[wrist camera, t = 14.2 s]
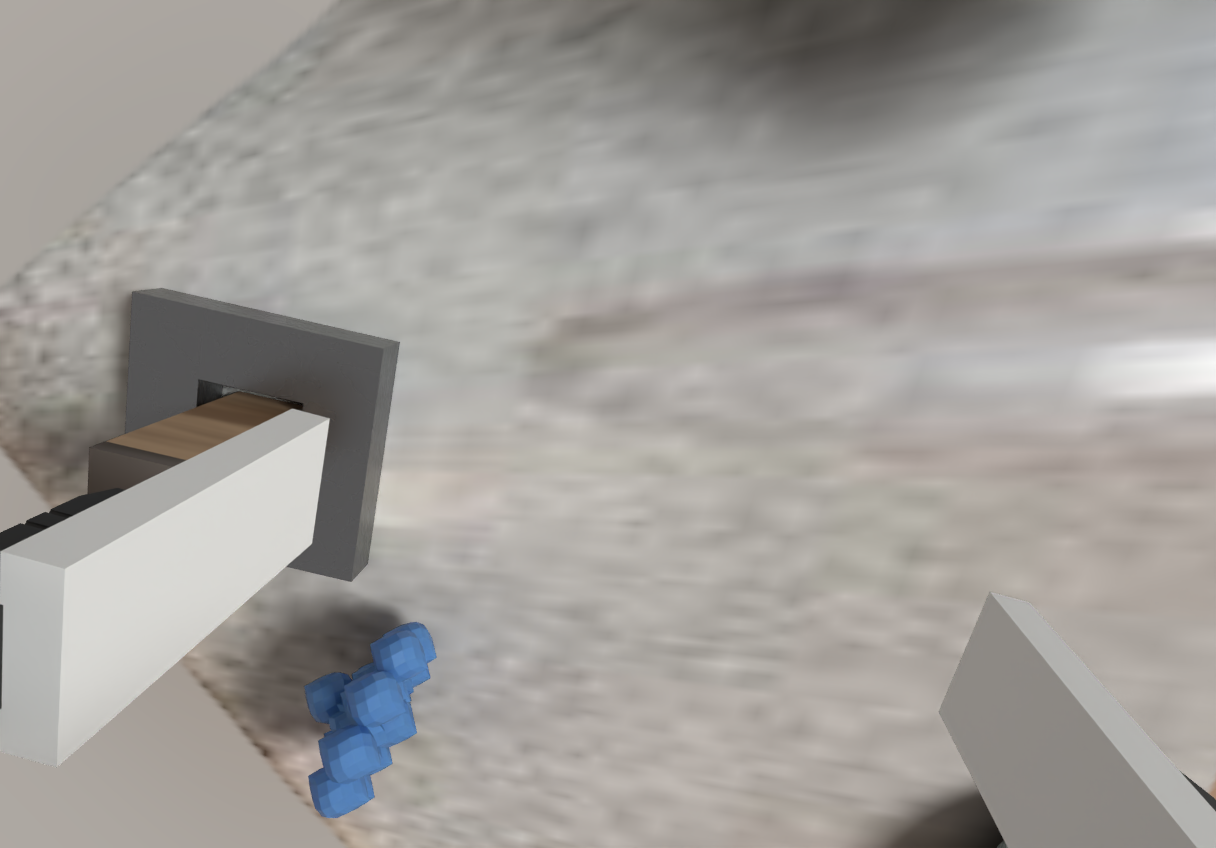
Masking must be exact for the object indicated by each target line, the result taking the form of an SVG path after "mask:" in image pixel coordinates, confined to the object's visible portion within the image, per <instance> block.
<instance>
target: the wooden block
mask: <svg viewBox="0 0 1216 848" xmlns="http://www.w3.org/2000/svg"><path fill="white" fill-rule="evenodd" d="M290 409H296V410H300V411H303V406H301V405H297V404H293V403H288V402H284V401H280V400H275V399H271V398H267V397H262V396H258V395H254V394H249V393H245V392H241V391H239V392H236V393H233V394H231V395H228V396H225V397H223V398H220V399H217V400H215V401H212V402H209V403H207V404H204V405H201V406H199V407H196V408H193V409H191V410H188V411H185V412H183V413H180V414H177V415H175V416H172V417H169V418H167V419H164V420H161V421H159V422H156V423H153V424H151V425H148V426H145V427H143V428H140V429H137V430H135V431H132V432H129V433H127V434H124V435H121V436H119V437H116V438H113V439H111V440H108V441H105V442H103V443H100V444H97V445H95V446H92V447H89V471H88V494H91V493H96V492H100V491H105V490H109V489H114V488H120V489H124V490H127V489H129V488H131V487H133V486H135V485H137V484H139V483H141V482H143V481H145V480H147V479H149V478H151V477H153V476H155V475H158V474H160V473H162V472H164V471H166V470H168V469H170V468H172V467H174V466H176V465H178V464H180V463H182V462H184V461H186V460H188V459H190V458H192V457H194V456H196V455H198V454H200V453H202V452H205V451H207V450H209V449H211V448H213V447H215V446H217V445H219V444H221V443H223V442H225V441H227V440H229V439H231V438H233V437H235V436H237V435H239V434H241V433H243V432H245V431H247V430H250V429H252V428H254V427H256V426H258V425H260V424H262V423H264V422H266V421H268V420H270V419H272V418H274V417H276V416H278V415H280V414H282V413H284V412H286V411H288V410H290Z"/></svg>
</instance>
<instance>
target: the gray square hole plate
mask: <svg viewBox="0 0 1216 848" xmlns="http://www.w3.org/2000/svg"><path fill="white" fill-rule="evenodd" d="M399 343H400V342H397V341H392V340H388V339H383V338H379V337H375V336H370V335H366V334H361V333H357V332H353V331H348V330H344V329H339V328H335V327H331V326H326V325H322V324H317V323H313V322H309V321H304V320H300V319H296V318H291V317H287V316H282V315H278V314H274V313H269V312H265V311H260V310H256V309H252V308H247V307H243V306H238V305H234V304H230V303H225V302H221V301H216V300H212V299H208V298H203V297H199V296H195V295H190V294H186V293H181V292H177V291H173V290H168V289H164V288H159V289H150V290H141V291H133V292H132V309H131V328H130V348H129V367H128V386H127V406H126V425H125V434H127V433H129V432H132V431H135V430H137V429H140V428H143V427H145V426H148V425H151V424H153V423H156V422H159V421H161V420H164V419H167V418H169V417H172V416H175V415H177V414H180V413H183V412H185V411H188V410H191V409H193V408H196V407H199V406H201V405H204V404H207V403H209V402H212V401H215V400H217V399H220V398H222V388H223V385H226V386H231V387H235V388H239V389H244V390H248V391H252V392H257V393H261V394H265V395H270V396H274V397H278V398H283V399H287V400H291V401H296V402H300V403H303V412H307V413H311V414H315V415H319V416H323V417H326V418H330V420H329V427H328V434H327V441H326V448H325V455H324V462H323V469H322V476H321V483H320V490H319V497H318V504H317V511H316V518H315V525H314V533H313V540H312V544H311V545H310V546H309V547H308V548H307V549H305V550H304V551H303V552H302V553H301V554H300V555H299V556H297V557H296V558H295V559H294V560H293V561H292V562H291V563H289V564H288V565H287V566H286V567H290V568H294V569H299V570H303V571H307V572H311V573H316V574H320V575H324V576H328V577H333V578H337V579H341V580H345V581H350V582H352V580H353V579H354V578H355V577H356V576H357V575H358V574H359V573H360V572H361V571H362V569H363V568H364V567H365V566H366V565H367V564H368V558H369V551H370V544H371V537H372V530H373V523H374V516H375V509H376V502H377V496H378V489H379V482H380V475H381V468H382V461H383V454H384V447H385V440H386V433H387V426H388V419H389V412H390V406H391V399H392V392H393V385H394V378H395V371H396V364H397V357H398V350H399Z"/></svg>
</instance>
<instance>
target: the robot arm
mask: <svg viewBox="0 0 1216 848" xmlns="http://www.w3.org/2000/svg"><path fill="white" fill-rule="evenodd" d="M329 420H330V418H326V417H323V416H319V415H315V414H311V413H307V412H303V411H300V410H296V409H290V410H288V411H286V412H284V413H282V414H280V415H278V416H276V417H274V418H272V419H270V420H268V421H266V422H264V423H262V424H260V425H258V426H256V427H254V428H252V429H250V430H247V431H245V432H243V433H241V434H239V435H237V436H235V437H233V438H231V439H229V440H227V441H225V442H223V443H221V444H219V445H217V446H215V447H213V448H211V449H209V450H207V451H205V452H202V453H200V454H198V455H196V456H194V457H192V458H190V459H188V460H186V461H184V462H182V463H180V464H178V465H176V466H174V467H172V468H170V469H168V470H166V471H164V472H162V473H160V474H158V475H155V476H153V477H151V478H149V479H147V480H145V481H143V482H141V483H139V484H137V485H135V486H133V487H131V488H129V489H127V490H124V489H120V488H114V489H109V490H105V491H100V492H96V493H91V494H86V495H82V496H79V497H76V498H74V499H72V500H70V501H68V502H66V503H63V504H61V505H59V506H57V507H55V508H53V509H51V511H50V512H49V513H47V512H44V513H42V514H40V515H38V516H35V517H33V518H31V519H29V520H27V521H26V523H25V525H24V524H21V523H20V524H18V525H16V526H14V527H12V528H9V529H7V530H5V531H3V532H1V533H0V752H3V753H6V754H10V755H14V756H17V757H21V758H24V759H28V760H31V761H35V762H38V763H42V764H46V765H50V766H53V767H58V766H59V765H60V764H61V763H62V762H64V761H65V760H66V759H67V758H68V757H69V756H70V755H72V754H73V753H74V752H75V751H76V750H77V749H78V748H80V747H81V746H82V745H83V744H84V743H85V742H86V741H88V739H90V738H91V737H92V736H93V735H94V734H96V733H97V732H98V731H99V730H100V729H101V728H102V727H103V726H105V725H106V724H107V723H108V722H109V721H110V720H111V719H113V718H114V717H115V716H116V715H117V714H118V713H119V712H121V710H123V709H124V708H125V707H126V706H127V705H129V704H130V703H131V702H132V701H133V700H134V699H135V698H137V697H138V696H139V695H140V694H141V693H142V692H143V691H145V690H146V689H147V688H148V687H149V686H150V685H151V684H153V683H154V682H155V681H156V680H157V679H158V678H159V677H161V676H162V675H163V674H164V673H165V672H166V671H167V670H169V669H170V668H171V667H172V666H173V665H174V664H175V663H177V662H178V661H179V660H180V659H181V658H182V657H183V656H184V655H186V654H187V653H188V652H189V651H190V650H191V649H192V648H194V647H195V646H196V645H197V644H198V643H199V642H200V641H202V640H203V639H204V638H205V637H206V636H207V635H208V634H210V633H211V632H212V631H213V630H214V629H215V628H216V627H218V626H219V625H220V624H221V623H222V622H223V621H224V620H226V619H227V618H228V617H229V616H230V615H231V614H232V613H234V612H235V611H236V610H237V609H238V608H239V607H240V606H242V605H243V604H244V603H245V602H246V601H247V600H248V599H250V598H251V597H252V596H253V595H254V594H255V593H256V592H257V591H259V590H260V589H261V588H262V587H263V586H264V585H265V584H267V583H268V582H269V581H270V580H271V579H272V578H273V577H275V576H276V575H277V574H278V573H279V572H280V571H281V570H283V569H284V568H285V567H286V566H287V565H288V564H289V563H291V562H292V561H293V560H294V559H295V558H296V557H297V556H299V555H300V554H301V553H302V552H303V551H304V550H305V549H307V548H308V547H309V546H310V545H311V544H312V540H313V533H314V525H315V518H316V511H317V504H318V497H319V490H320V483H321V476H322V469H323V462H324V455H325V448H326V441H327V434H328V427H329ZM939 714H940V715H941V717H942V719H943V721H944V723H945V725H946V727H947V729H948V731H949V733H950V735H951V737H952V739H953V741H954V743H955V745H956V747H957V749H958V751H959V753H960V755H961V757H962V759H963V761H964V763H965V765H966V766H967V768H968V770H969V772H970V774H971V776H972V778H973V780H974V782H975V784H976V786H977V788H978V790H979V792H980V794H981V796H982V798H983V800H984V802H985V804H986V806H987V808H988V810H989V812H990V814H991V816H992V817H993V819H994V821H995V823H996V825H997V827H998V829H999V831H1000V833H1001V835H1002V837H1003V839H1004V841H1005V843H1006V845H1007V847H1008V848H1216V800H1215V799H1214V798H1213V797H1212V796H1211V795H1210V794H1208V793H1207V792H1206V791H1205V790H1203V789H1202V788H1201V787H1199V786H1198V785H1197V784H1196V783H1194V782H1193V781H1192V780H1191V779H1189V778H1188V777H1187V776H1186V775H1184V774H1183V773H1182V772H1180V771H1179V770H1178V769H1177V767H1176V766H1175V765H1174V764H1173V763H1172V762H1171V761H1170V760H1169V758H1168V757H1167V756H1166V755H1165V754H1164V753H1163V752H1162V751H1161V749H1160V748H1159V747H1158V746H1157V745H1156V744H1155V743H1154V742H1153V740H1152V739H1151V738H1150V737H1149V736H1148V735H1147V734H1146V733H1145V731H1144V730H1143V729H1142V728H1141V727H1140V726H1139V725H1138V724H1137V722H1136V721H1135V720H1134V719H1133V718H1132V717H1131V716H1130V715H1129V713H1128V712H1127V711H1126V710H1125V709H1124V708H1123V707H1122V706H1121V704H1120V703H1119V702H1118V701H1117V700H1116V699H1115V698H1114V697H1113V696H1112V694H1111V693H1110V692H1109V691H1108V690H1107V689H1106V688H1105V687H1104V685H1103V684H1102V683H1101V682H1100V681H1099V680H1098V679H1097V678H1096V676H1095V675H1094V674H1093V673H1092V672H1091V671H1090V670H1089V669H1088V667H1087V666H1086V665H1085V664H1084V663H1083V662H1082V661H1081V660H1080V658H1079V657H1078V656H1077V655H1076V654H1075V653H1074V652H1073V651H1072V649H1071V648H1070V647H1069V646H1068V645H1067V644H1066V643H1065V642H1064V640H1063V639H1062V638H1061V637H1060V636H1059V635H1058V634H1057V633H1056V631H1055V630H1054V629H1053V628H1052V627H1051V626H1050V625H1049V624H1048V622H1047V621H1046V620H1045V619H1044V618H1043V617H1042V616H1041V615H1040V613H1039V612H1038V611H1037V610H1036V609H1035V608H1034V607H1033V606H1032V604H1031V603H1030V602H1027V601H1023V600H1019V599H1016V598H1012V597H1008V596H1004V595H1000V594H997V593H993V592H989V595H988V597H987V599H986V602H985V604H984V606H983V609H982V611H981V613H980V616H979V618H978V621H977V623H976V625H975V628H974V630H973V632H972V635H971V637H970V639H969V642H968V644H967V646H966V649H965V651H964V653H963V656H962V658H961V660H960V663H959V665H958V667H957V670H956V672H955V674H954V677H953V679H952V681H951V684H950V686H949V688H948V691H947V693H946V696H945V698H944V700H943V703H942V705H941V707H940V710H939Z"/></svg>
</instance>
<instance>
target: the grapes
mask: <svg viewBox="0 0 1216 848" xmlns="http://www.w3.org/2000/svg"><path fill="white" fill-rule="evenodd" d="M370 647H371V652H372V657H373V661H374V662H373V663H370V664H367V665H365V666H363V667H361V668H359V670H358V671H357V672H355V673H353V674H352V678H353V680H352V679H351V678H350V676H349V675H348V674H344V673H337V672H334V673H331V674H328V675H325V676H322V677H320V678H319V679H317V680H315V681H313V682H311V683H309V684H308V685H306V686H304V687H305V694H306V699H307V704H308V708H309V710H310V713H311V715H312V716H313V718H314V719H315V720H316V722H320V723H326V724H330V729H331V731H329V732H327V733H325V734H324V738H322V739H320V740H319V741H318V742H319V749H320V755H321V759H322V763H323V768H321V769H319V770H317V771H316V772H314V773H312V774H311V775H309V776H308V778H309V785H310V791H311V795H312V799H313V803H314V806H315V809H316V810H317V811H318V812H319V813H320V815H321V816H324V817H327V818H338V817H340V816H342V815H345V814H347V813H349V812H351V811H353V810H355V809H357V808H359V807H360V806H362V805H364V804H365V803H367V802H368V801H369V800H371V799H373V798H374V791H373V786H372V781H371V777H370V775H372V774H374V773H377V772H379V771H381V770H383V769H385V768H386V767H388V766H389V765H391V764H392V758H391V753H390V749H389V747H391V746H393V745H395V744H398V743H400V742H402V741H404V740H406V739H408V738H410V737H411V736H413V735H415V734H416V733H417V731H416V726H415V722H414V717H413V712H412V708H411V704H410V701H411V697H410V694H411V693H413V692H414V691H413V687H415V686H417V685H419V684H421V683H423V682H425V681H426V680H428V679H430V674H429V670H428V666H427V663H428V662H430V661H432V660H434V659H435V658H437V657H436V653H435V649H434V645H433V641H432V637H431V635H430V634H429V632H428V630H427V629H426V627H425V626H424V625H423V624H420V623H418V622H410V623H407V624H403V625H400V626H399V627H397V628H395V629H393V630H391V631H389V632H387V633H386V634H384V635H383V637H382V638H380V639H379V640H377V641H375V642H373V643H371V644H370Z"/></svg>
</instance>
